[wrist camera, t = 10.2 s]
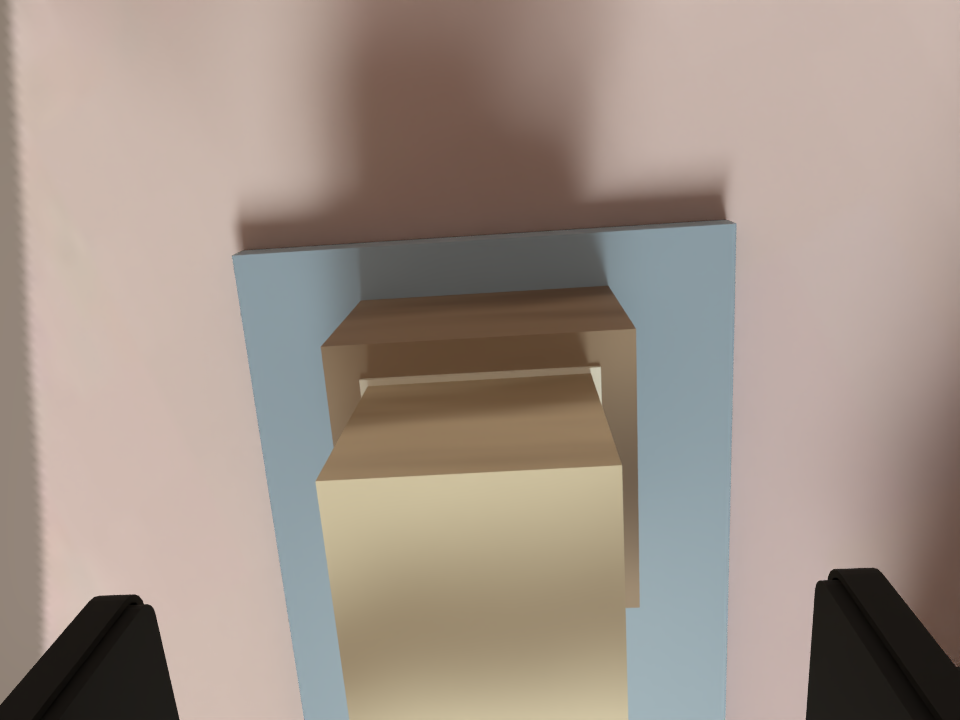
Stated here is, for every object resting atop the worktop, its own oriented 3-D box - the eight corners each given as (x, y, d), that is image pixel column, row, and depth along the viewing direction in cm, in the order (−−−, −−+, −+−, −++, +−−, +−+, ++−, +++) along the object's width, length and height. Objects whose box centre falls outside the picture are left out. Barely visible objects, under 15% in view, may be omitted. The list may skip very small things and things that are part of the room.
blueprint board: (243, 250, 23) (153, 290, 17) (726, 219, 22) (803, 251, 17) (333, 841, 29) (289, 1019, 23) (715, 832, 28) (768, 1013, 23)
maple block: (367, 386, 18) (315, 481, 13) (590, 373, 17) (622, 465, 13) (390, 581, 19) (351, 733, 14) (597, 572, 19) (628, 723, 14)
